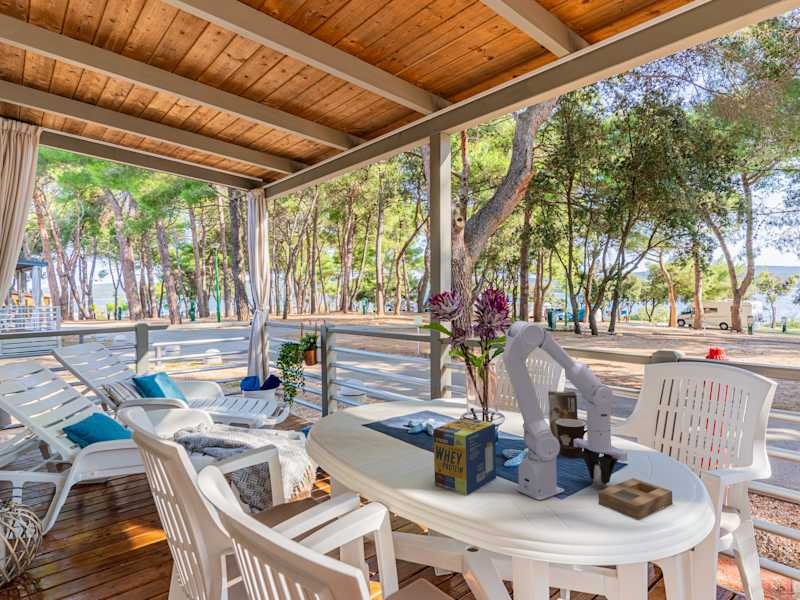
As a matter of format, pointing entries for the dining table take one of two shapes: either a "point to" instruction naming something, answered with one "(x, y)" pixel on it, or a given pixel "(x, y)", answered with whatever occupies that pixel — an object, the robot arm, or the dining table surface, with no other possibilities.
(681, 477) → the dining table surface
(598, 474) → the pin
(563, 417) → the coffee box
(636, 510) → the block
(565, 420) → the coffee mug
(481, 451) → the protein box
